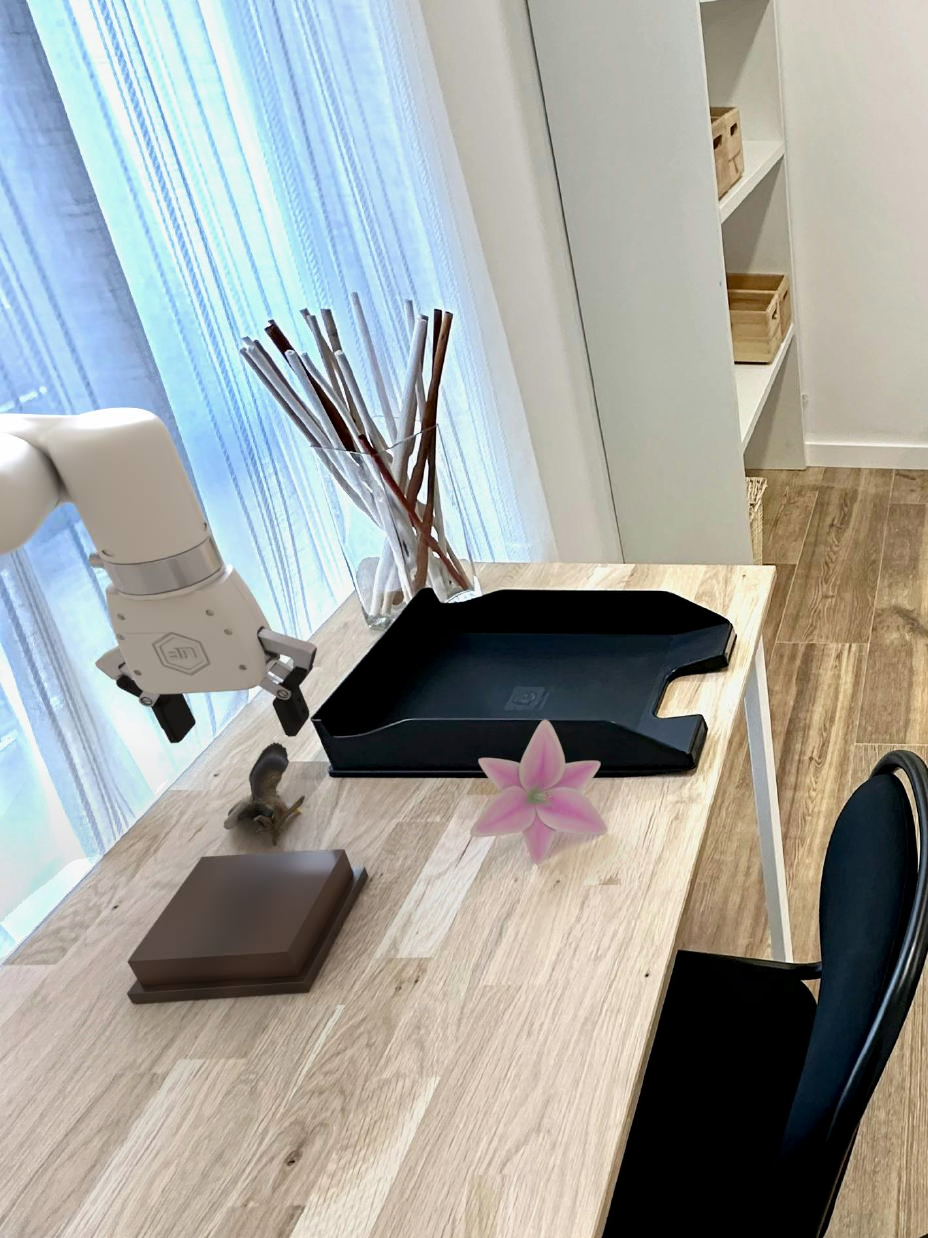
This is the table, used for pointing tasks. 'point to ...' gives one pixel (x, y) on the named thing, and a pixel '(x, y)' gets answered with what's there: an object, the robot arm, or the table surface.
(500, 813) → the lily
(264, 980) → the display stand
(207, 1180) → the table surface
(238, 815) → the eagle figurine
